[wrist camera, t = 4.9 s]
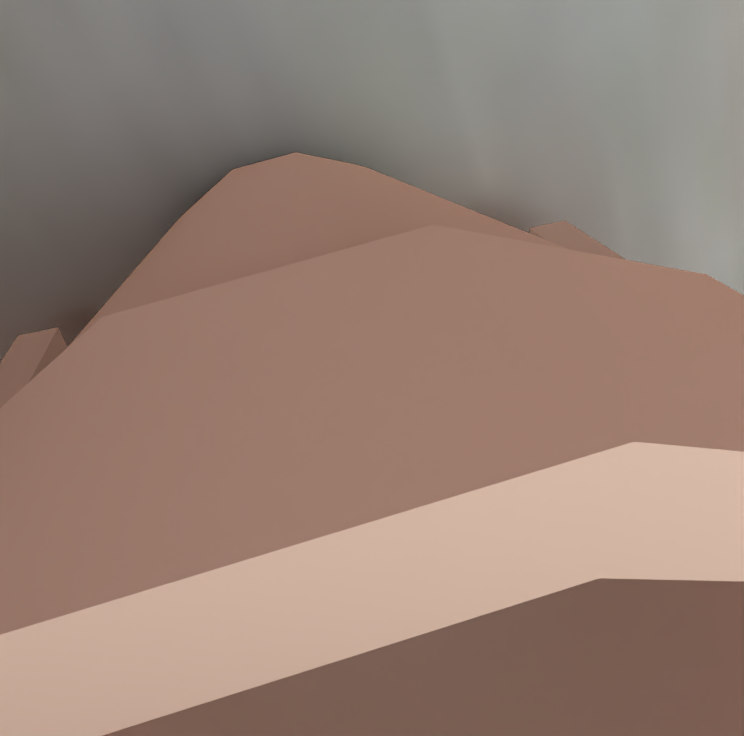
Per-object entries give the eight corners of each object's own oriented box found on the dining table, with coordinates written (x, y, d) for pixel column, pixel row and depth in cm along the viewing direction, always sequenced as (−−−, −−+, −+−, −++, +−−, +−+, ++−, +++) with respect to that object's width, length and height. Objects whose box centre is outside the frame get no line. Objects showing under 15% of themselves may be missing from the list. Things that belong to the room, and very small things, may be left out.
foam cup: (51, 75, 12) (-1552, 698, 1) (506, 70, 14) (1606, 328, 3) (136, 467, 17) (-39, 1334, 6) (470, 430, 19) (828, 1063, 7)
